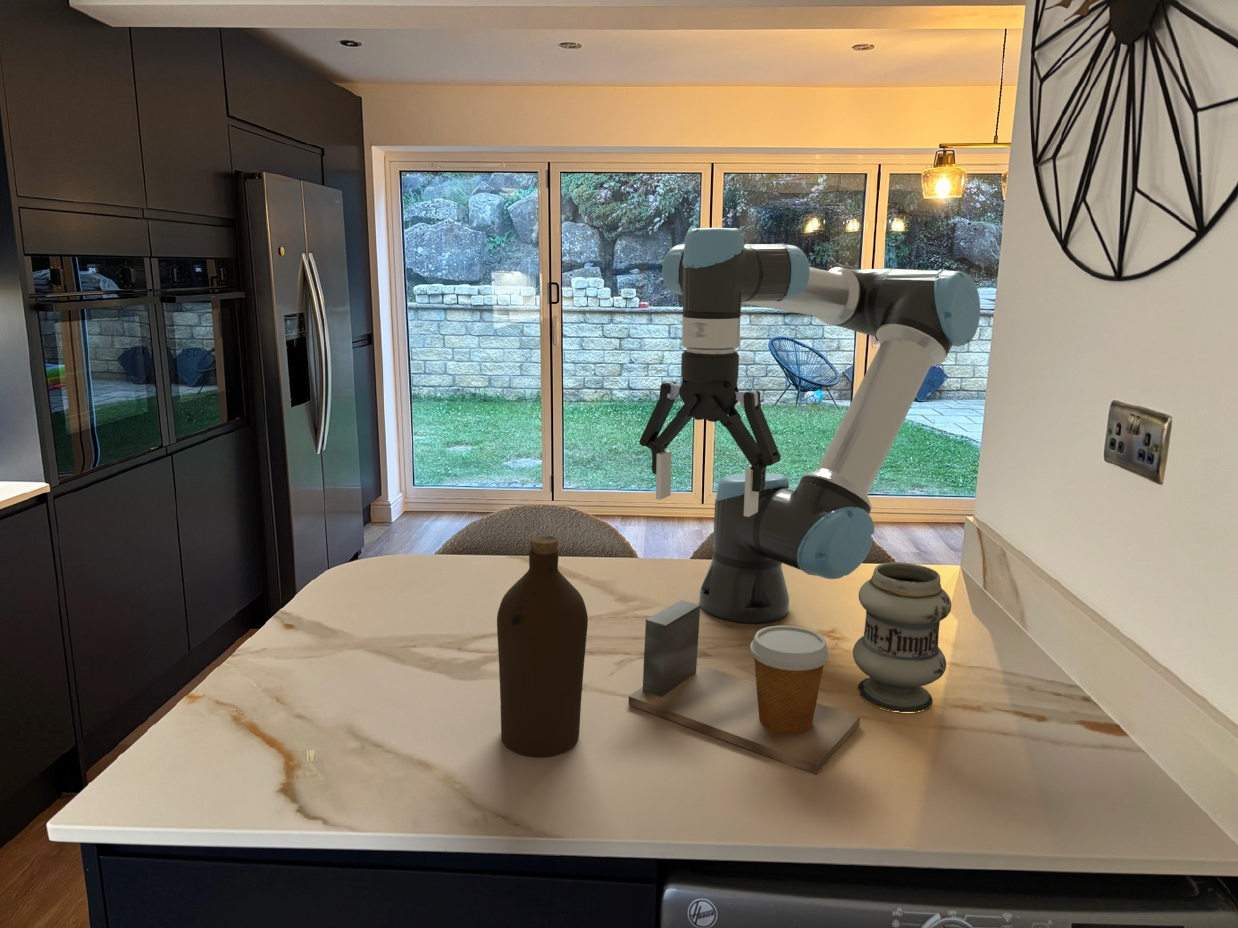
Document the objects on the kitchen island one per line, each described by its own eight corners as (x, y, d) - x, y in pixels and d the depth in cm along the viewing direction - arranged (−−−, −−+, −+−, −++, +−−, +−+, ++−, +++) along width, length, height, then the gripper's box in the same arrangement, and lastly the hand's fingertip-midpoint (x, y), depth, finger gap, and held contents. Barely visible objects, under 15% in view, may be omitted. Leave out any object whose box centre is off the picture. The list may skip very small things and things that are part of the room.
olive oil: (581, 762, 101) (588, 555, 95) (489, 758, 101) (490, 552, 95) (586, 716, 111) (592, 527, 105) (502, 712, 111) (504, 524, 105)
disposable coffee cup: (819, 754, 103) (825, 659, 101) (739, 740, 106) (744, 648, 104) (827, 717, 112) (833, 629, 110) (754, 705, 115) (758, 619, 113)
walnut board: (628, 704, 114) (631, 624, 112) (683, 667, 125) (687, 593, 123) (816, 774, 100) (825, 684, 97) (859, 725, 111) (868, 643, 109)
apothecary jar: (840, 673, 125) (852, 554, 122) (924, 677, 125) (939, 558, 121) (860, 715, 114) (874, 585, 110) (953, 720, 113) (971, 589, 110)
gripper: (615, 346, 118) (615, 496, 123) (787, 360, 104) (778, 529, 110) (645, 341, 124) (644, 485, 129) (811, 354, 110) (802, 514, 116)
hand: (705, 505), depth 120 cm, fingers open, 13 cm apart
